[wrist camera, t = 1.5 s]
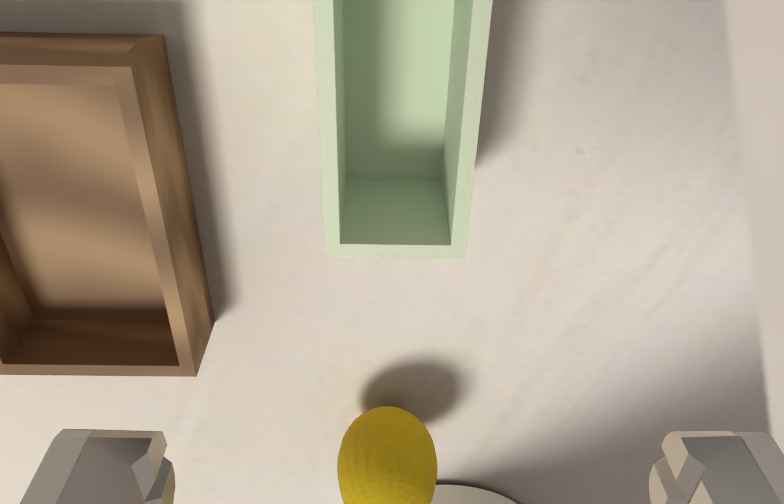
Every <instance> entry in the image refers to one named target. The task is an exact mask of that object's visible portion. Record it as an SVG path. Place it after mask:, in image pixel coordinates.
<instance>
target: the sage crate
mask: <svg viewBox="0 0 784 504" xmlns="http://www.w3.org/2000/svg"><path fill="white" fill-rule="evenodd" d="M313 3H314V25H315V48H316V70H317V92H318V115H319V137H320V159H321V182H322V204H323V226H324V248H325V257H396V258H465V254H466V245H467V235H468V226H469V217H470V207H471V198H472V189H473V180H474V170H475V161H476V152H477V142H478V133H479V124H480V114H481V105H482V96H483V86H484V77H485V68H486V59H487V49H488V40H489V31H490V21H491V12H492V3H493V0H313Z"/></svg>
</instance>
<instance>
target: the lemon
mask: <svg viewBox="0 0 784 504" xmlns="http://www.w3.org/2000/svg"><path fill="white" fill-rule="evenodd" d="M337 470H338V480H339V487H340V492H341V496H342V499H343V502H344V504H431V501H432V498H433V494H434V490H435V485H436V479H437V458H436V453H435V448H434V444H433V440H432V438H431V436H430V434H429V432H428V430H427V429H426V427H425V425H424V424H423V423H422V422H421V421H420V420H419V419H418V418H417V417H416V416H415V415H413V414H412V413H410V412H408V411H406V410H404V409H401V408H398V407H393V406H382V407H377V408H373V409H371V410H369V411H367V412H364V413H363V414H362V415H360V416H359V417H358V418H357V419H355V420H354V422H353V423H352V424H351V425H350V427H349V428H348V430H347V431H346V433H345V435H344V437H343V440H342V443H341V447H340V451H339V455H338V463H337Z"/></svg>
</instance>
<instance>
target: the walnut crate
mask: <svg viewBox="0 0 784 504" xmlns="http://www.w3.org/2000/svg"><path fill="white" fill-rule="evenodd" d="M213 326H214V318H213V312H212V307H211V301H210V296H209V290H208V284H207V279H206V273H205V267H204V262H203V256H202V251H201V245H200V239H199V234H198V228H197V222H196V217H195V211H194V205H193V200H192V194H191V189H190V183H189V177H188V172H187V166H186V160H185V155H184V149H183V144H182V138H181V132H180V127H179V121H178V115H177V110H176V104H175V98H174V93H173V87H172V82H171V76H170V70H169V65H168V59H167V53H166V48H165V42H164V37H163V35H123V34H75V33H26V32H0V375H94V376H193V377H196V376H197V373H198V370H199V367H200V364H201V361H202V358H203V355H204V352H205V349H206V346H207V344H208V341H209V338H210V335H211V332H212V329H213Z"/></svg>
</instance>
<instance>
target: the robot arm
mask: <svg viewBox="0 0 784 504" xmlns="http://www.w3.org/2000/svg"><path fill="white" fill-rule="evenodd" d="M166 447H167V443H166V440H165V437H164V434H163V432H162V431H131V430H97V429H63V430H62V431H61V432H60V433H59V434H58V435H57V436H56V437H55V438H54V439H53V441H52V443H51V445H50V447H49V449H48V450H47V452H46V454H45V456H44V458H43V460H42V462H41V464H40V466H39V468H38V470H37V472H36V474H35V475H34V477H33V479H32V481H31V483H30V485H29V487H28V489H27V491H26V493H25V495H24V497H23V499H22V500H21V502H20V504H173V500H174V492H175V474H174V469H173V465H172V462H170V461H169V460H168V459H166V458H165V457H164V453H165V450H166ZM661 447H662V450H663V452H664V454H665V456H664V457H662V458H661V459H659V460H658V461H656V462H655V463H654V464H653V466H652V469H651V472H650V475H649V496H650V501H651V504H784V455H783V453H782V452H781V450H780V449H779V447H778V445H777V444H776V442H775V441H774V439H773V438H772V437H771V436H770V435H769V434H767V433H766V432H761V431H734V432H730V431H671V432H670V433H669V434H667V435H666V436H665V438H664V440H663V442H662V445H661ZM431 504H517V503H515V502H514V501H512V500H510V499H508V498H506V497H504V496H502V495H499V494H497V493H494V492H491V491H488V490H484V489H480V488H475V487H469V486H461V485H435V490H434V494H433V498H432V501H431Z"/></svg>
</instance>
